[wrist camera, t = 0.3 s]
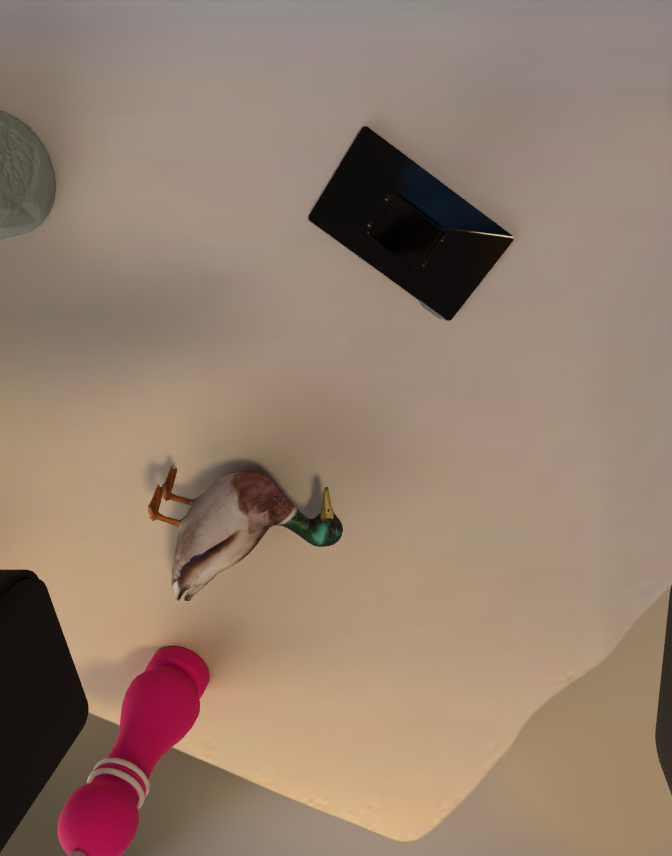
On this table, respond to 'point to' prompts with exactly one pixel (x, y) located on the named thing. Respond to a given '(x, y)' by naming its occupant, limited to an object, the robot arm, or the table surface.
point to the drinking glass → (23, 178)
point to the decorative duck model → (234, 525)
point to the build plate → (409, 225)
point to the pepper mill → (134, 754)
